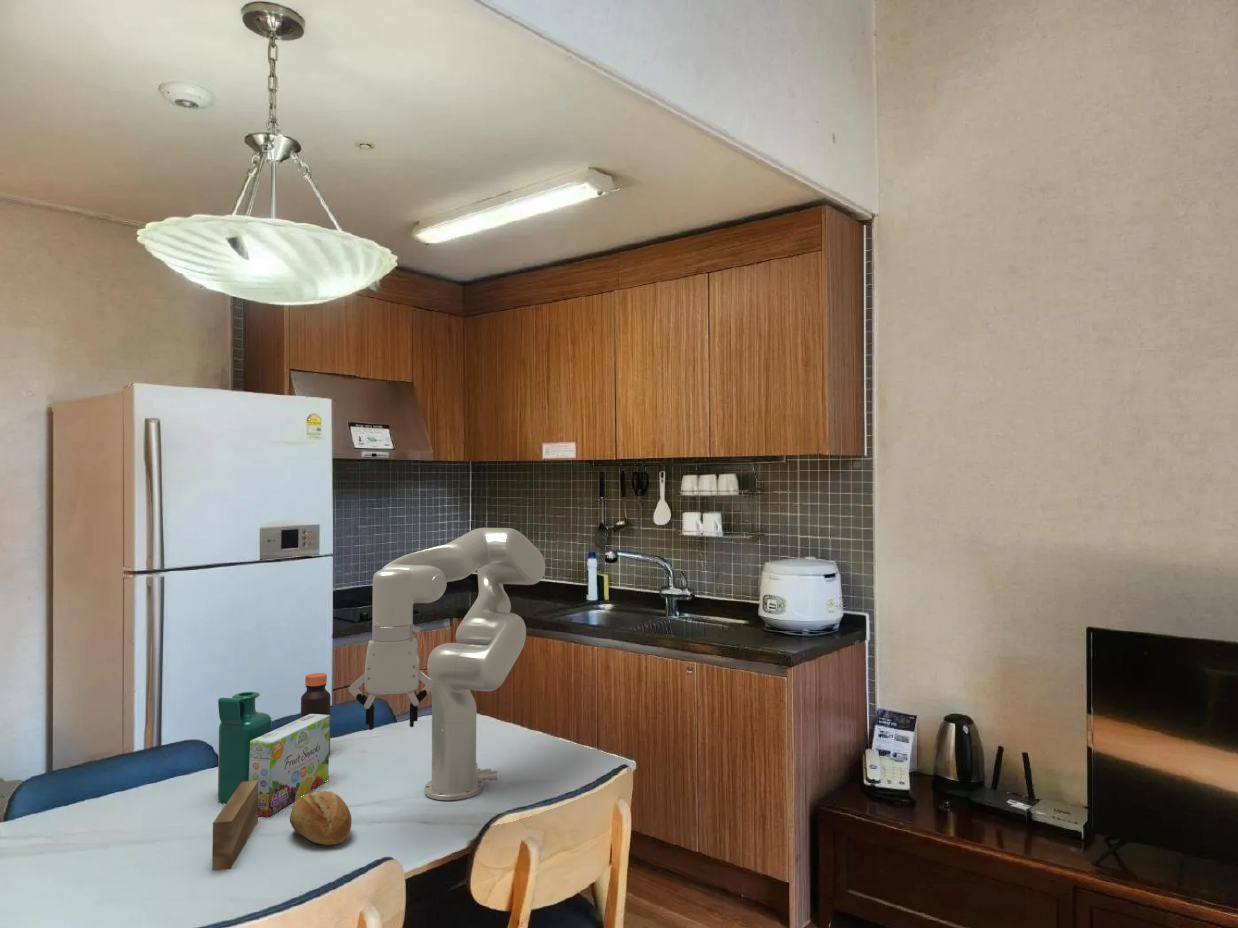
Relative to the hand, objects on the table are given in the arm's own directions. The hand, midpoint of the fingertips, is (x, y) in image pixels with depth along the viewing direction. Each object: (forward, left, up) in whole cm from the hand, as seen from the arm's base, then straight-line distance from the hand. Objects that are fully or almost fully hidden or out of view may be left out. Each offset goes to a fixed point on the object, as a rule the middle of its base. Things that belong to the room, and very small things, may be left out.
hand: (391, 725), depth 152 cm
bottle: (+21, -48, -20) cm, 56 cm away
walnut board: (+28, 0, -20) cm, 34 cm away
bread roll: (+13, 0, -20) cm, 24 cm away
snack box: (+22, -22, -20) cm, 37 cm away
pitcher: (+32, -24, -20) cm, 45 cm away
